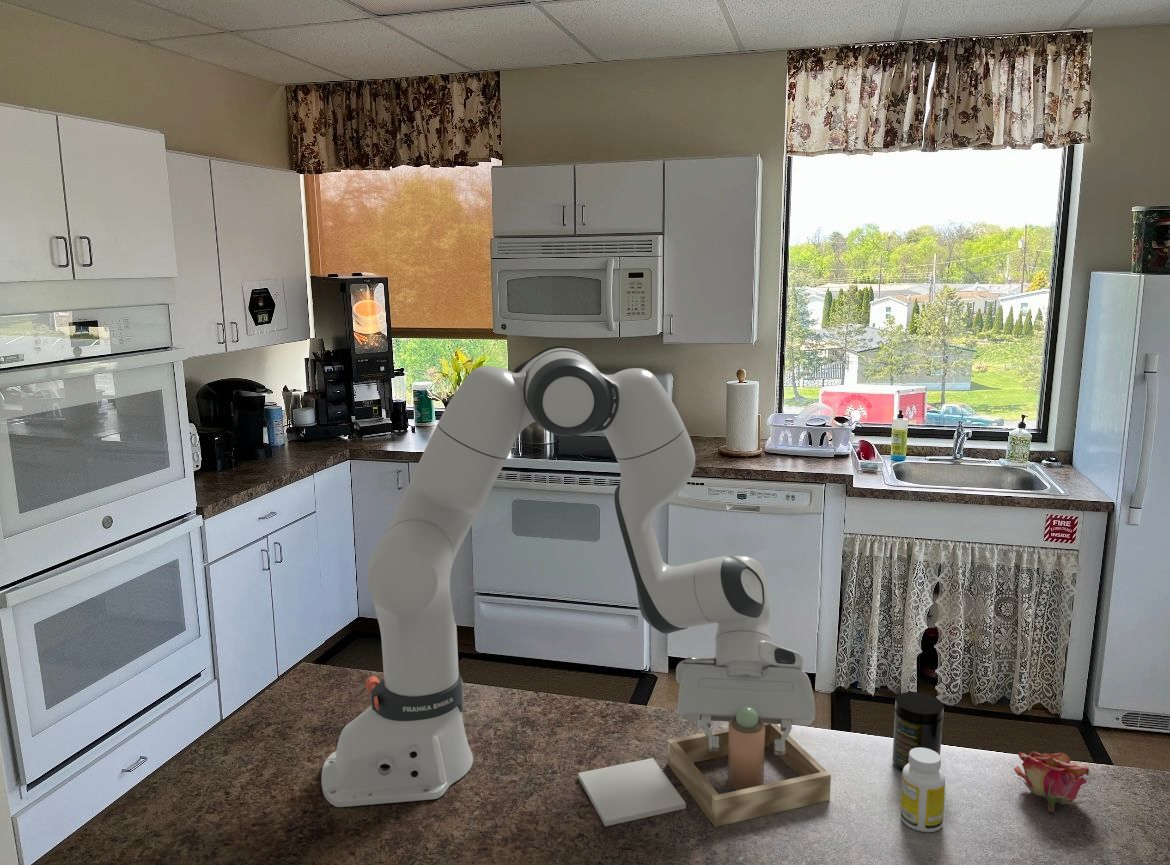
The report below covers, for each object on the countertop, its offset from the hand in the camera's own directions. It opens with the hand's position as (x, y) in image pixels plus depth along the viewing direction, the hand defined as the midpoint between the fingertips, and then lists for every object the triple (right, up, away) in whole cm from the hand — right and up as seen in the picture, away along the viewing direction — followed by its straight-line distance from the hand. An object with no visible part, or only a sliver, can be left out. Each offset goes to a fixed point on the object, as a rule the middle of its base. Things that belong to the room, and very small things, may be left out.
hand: (746, 752), depth 124 cm
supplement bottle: (+22, -7, -8) cm, 25 cm away
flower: (+42, -5, -4) cm, 42 cm away
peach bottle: (0, -5, +1) cm, 5 cm away
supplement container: (+26, -4, +5) cm, 27 cm away
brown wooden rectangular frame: (0, -5, +1) cm, 5 cm away
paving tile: (-17, -5, -1) cm, 18 cm away
